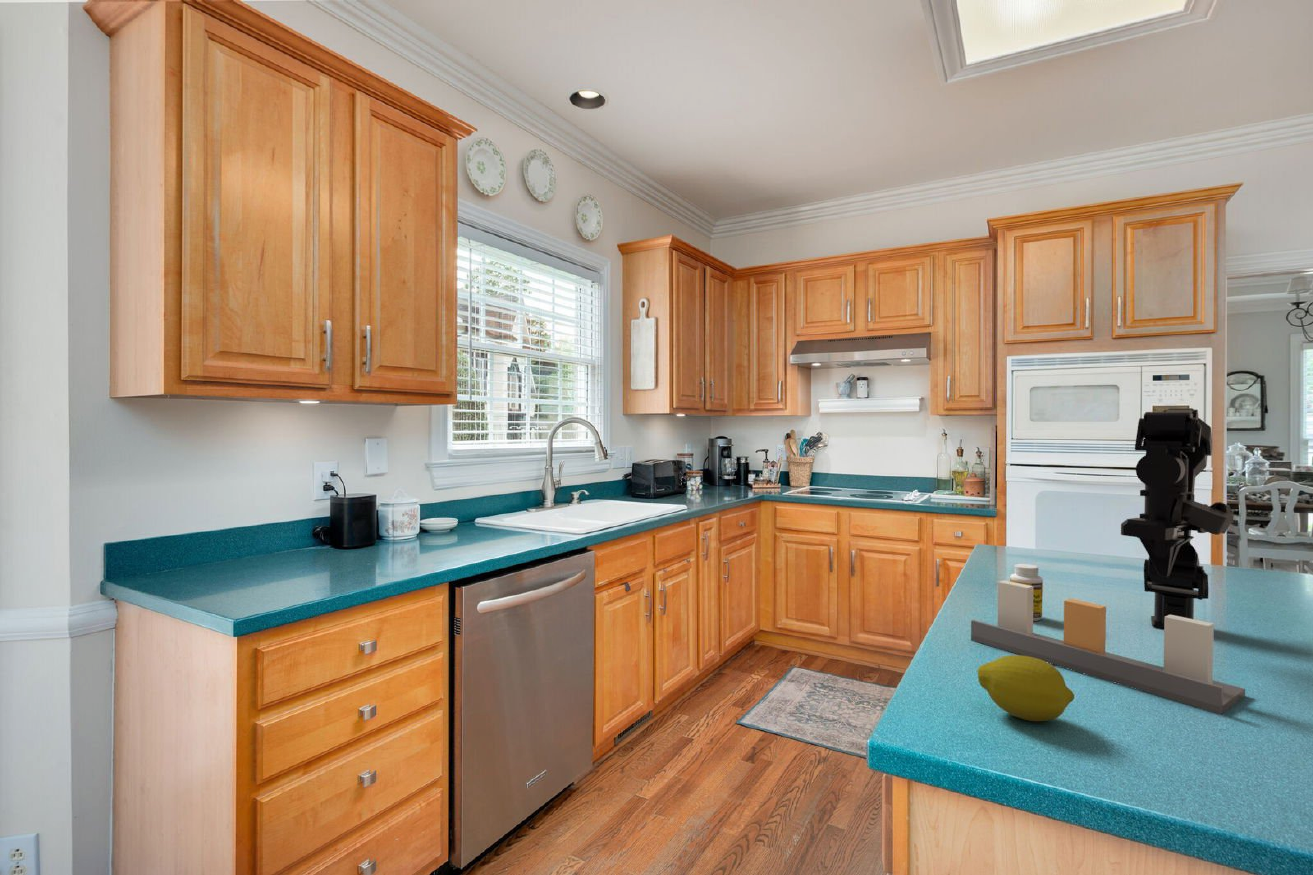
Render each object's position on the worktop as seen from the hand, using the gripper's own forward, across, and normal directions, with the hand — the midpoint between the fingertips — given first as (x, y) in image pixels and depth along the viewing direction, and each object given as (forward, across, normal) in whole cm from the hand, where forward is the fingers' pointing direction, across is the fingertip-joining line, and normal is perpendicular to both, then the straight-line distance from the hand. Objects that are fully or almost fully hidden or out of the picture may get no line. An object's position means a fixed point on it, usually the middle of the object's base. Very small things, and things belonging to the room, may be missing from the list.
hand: (1164, 576), depth 108 cm
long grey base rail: (+12, -19, +2) cm, 23 cm away
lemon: (+13, -46, -1) cm, 48 cm away
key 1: (+11, -20, +14) cm, 27 cm away
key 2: (+11, -19, -10) cm, 24 cm away
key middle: (+11, -22, +2) cm, 25 cm away
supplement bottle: (+12, -4, +21) cm, 25 cm away
